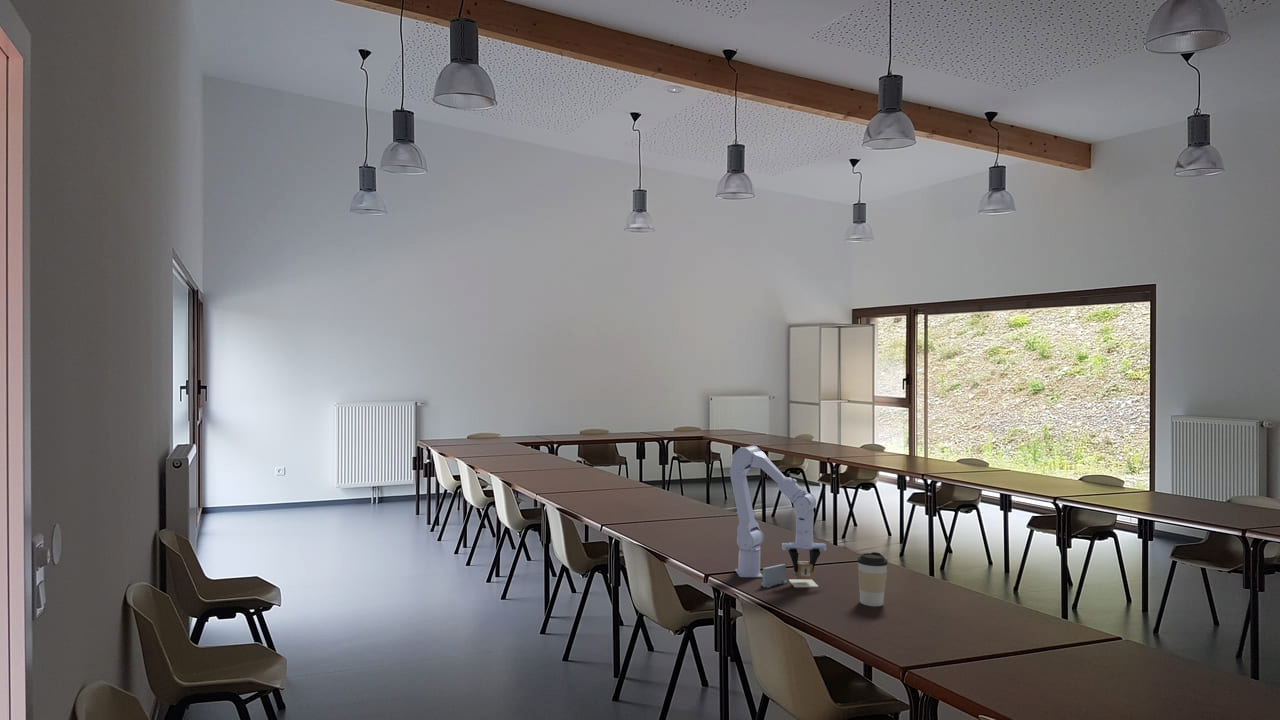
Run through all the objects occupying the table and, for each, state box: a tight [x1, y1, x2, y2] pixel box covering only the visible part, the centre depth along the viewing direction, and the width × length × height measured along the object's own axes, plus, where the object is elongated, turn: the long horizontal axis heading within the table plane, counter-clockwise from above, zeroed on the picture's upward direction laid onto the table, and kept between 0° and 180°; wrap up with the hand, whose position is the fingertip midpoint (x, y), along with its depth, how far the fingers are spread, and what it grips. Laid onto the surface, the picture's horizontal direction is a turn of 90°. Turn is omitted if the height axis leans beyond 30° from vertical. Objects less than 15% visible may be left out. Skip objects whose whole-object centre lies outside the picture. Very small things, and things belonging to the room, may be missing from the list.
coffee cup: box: [856, 551, 889, 607], centre depth 258 cm, size 9×9×15 cm
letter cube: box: [794, 560, 813, 580], centre depth 277 cm, size 5×5×5 cm
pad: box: [788, 578, 819, 588], centre depth 278 cm, size 8×8×1 cm
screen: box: [760, 563, 788, 589], centre depth 276 cm, size 3×10×6 cm, turn 129°
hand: (803, 571), depth 278 cm, fingers closed on letter cube, 5 cm apart
